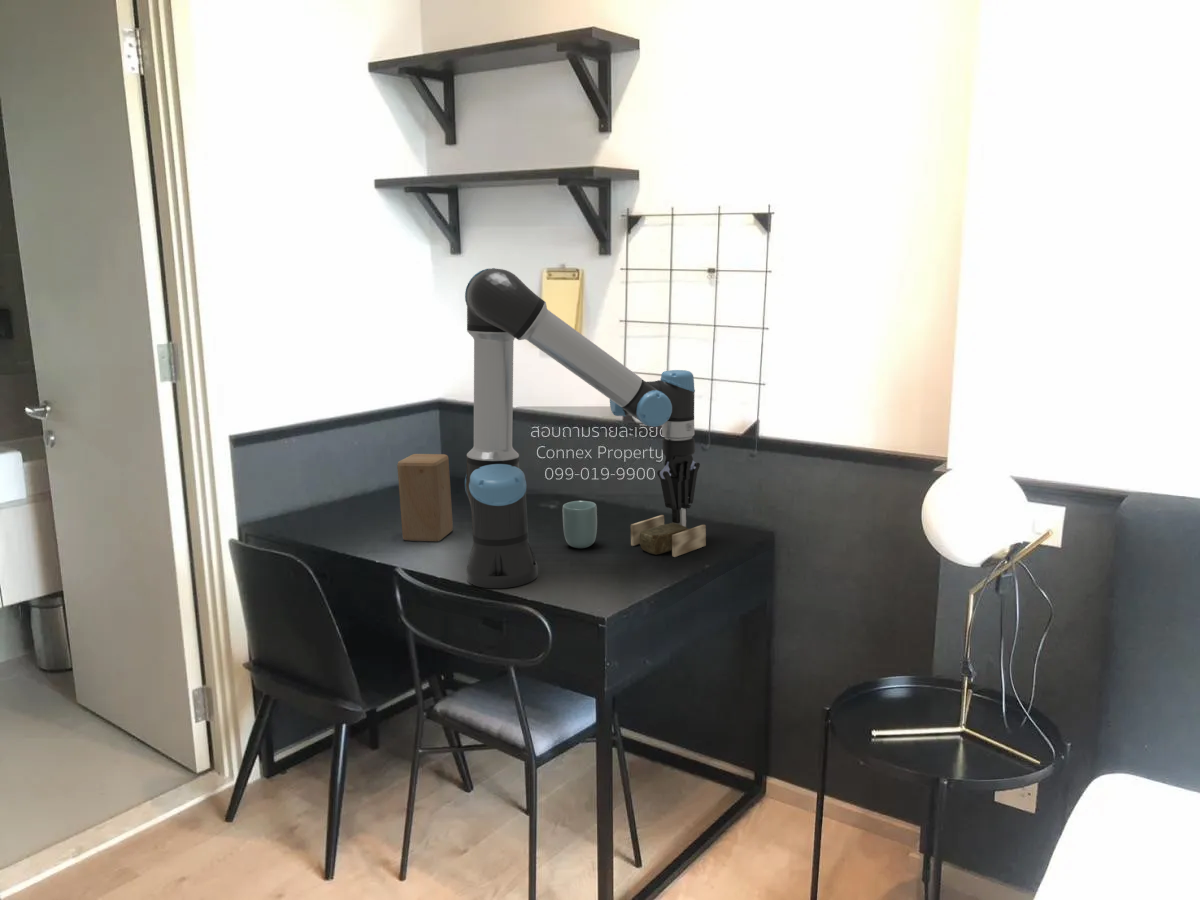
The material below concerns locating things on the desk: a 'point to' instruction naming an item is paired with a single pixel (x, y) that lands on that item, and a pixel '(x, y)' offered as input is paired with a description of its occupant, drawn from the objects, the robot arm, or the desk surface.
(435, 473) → the wooden block
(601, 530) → the desk surface
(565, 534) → the cup
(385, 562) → the desk surface
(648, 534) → the stone block
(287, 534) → the desk surface
